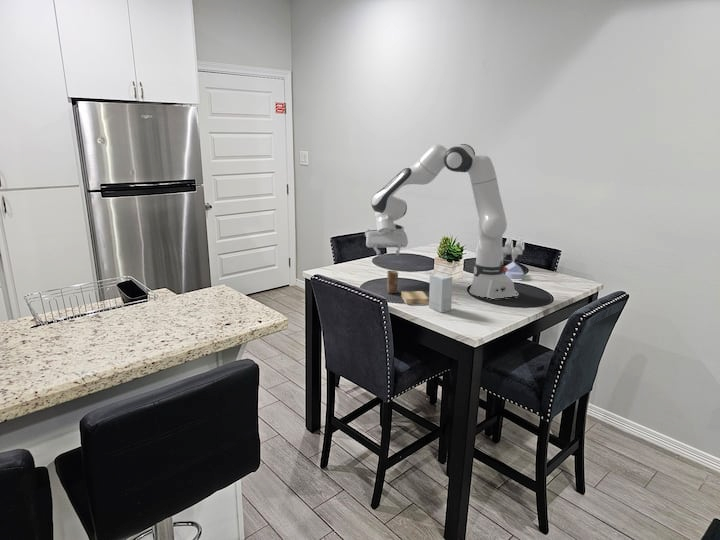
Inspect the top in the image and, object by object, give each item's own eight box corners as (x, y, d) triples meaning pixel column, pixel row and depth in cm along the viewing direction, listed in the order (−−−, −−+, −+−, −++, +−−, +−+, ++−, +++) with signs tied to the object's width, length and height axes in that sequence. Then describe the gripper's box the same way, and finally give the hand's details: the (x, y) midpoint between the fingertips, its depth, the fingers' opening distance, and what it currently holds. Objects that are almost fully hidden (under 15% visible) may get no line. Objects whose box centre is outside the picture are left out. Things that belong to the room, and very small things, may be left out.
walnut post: (395, 291, 225) (396, 270, 223) (396, 293, 222) (398, 273, 219) (386, 291, 225) (387, 270, 222) (388, 294, 221) (389, 273, 218)
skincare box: (451, 310, 203) (454, 277, 199) (440, 313, 200) (443, 279, 195) (437, 304, 210) (440, 272, 205) (427, 307, 206) (429, 273, 202)
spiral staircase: (475, 268, 283) (519, 269, 279) (476, 262, 266) (524, 263, 261) (476, 237, 286) (519, 238, 282) (477, 230, 269) (524, 231, 264)
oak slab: (422, 297, 219) (422, 291, 219) (428, 305, 210) (428, 298, 209) (400, 297, 218) (401, 291, 217) (405, 305, 209) (406, 299, 208)
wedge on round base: (503, 272, 261) (505, 279, 249) (504, 260, 259) (507, 267, 247) (520, 274, 260) (524, 281, 247) (522, 262, 258) (525, 268, 245)
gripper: (365, 226, 233) (367, 250, 226) (406, 226, 236) (410, 250, 229) (363, 233, 238) (365, 257, 232) (404, 233, 241) (407, 257, 235)
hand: (388, 254), depth 230 cm, fingers open, 8 cm apart
